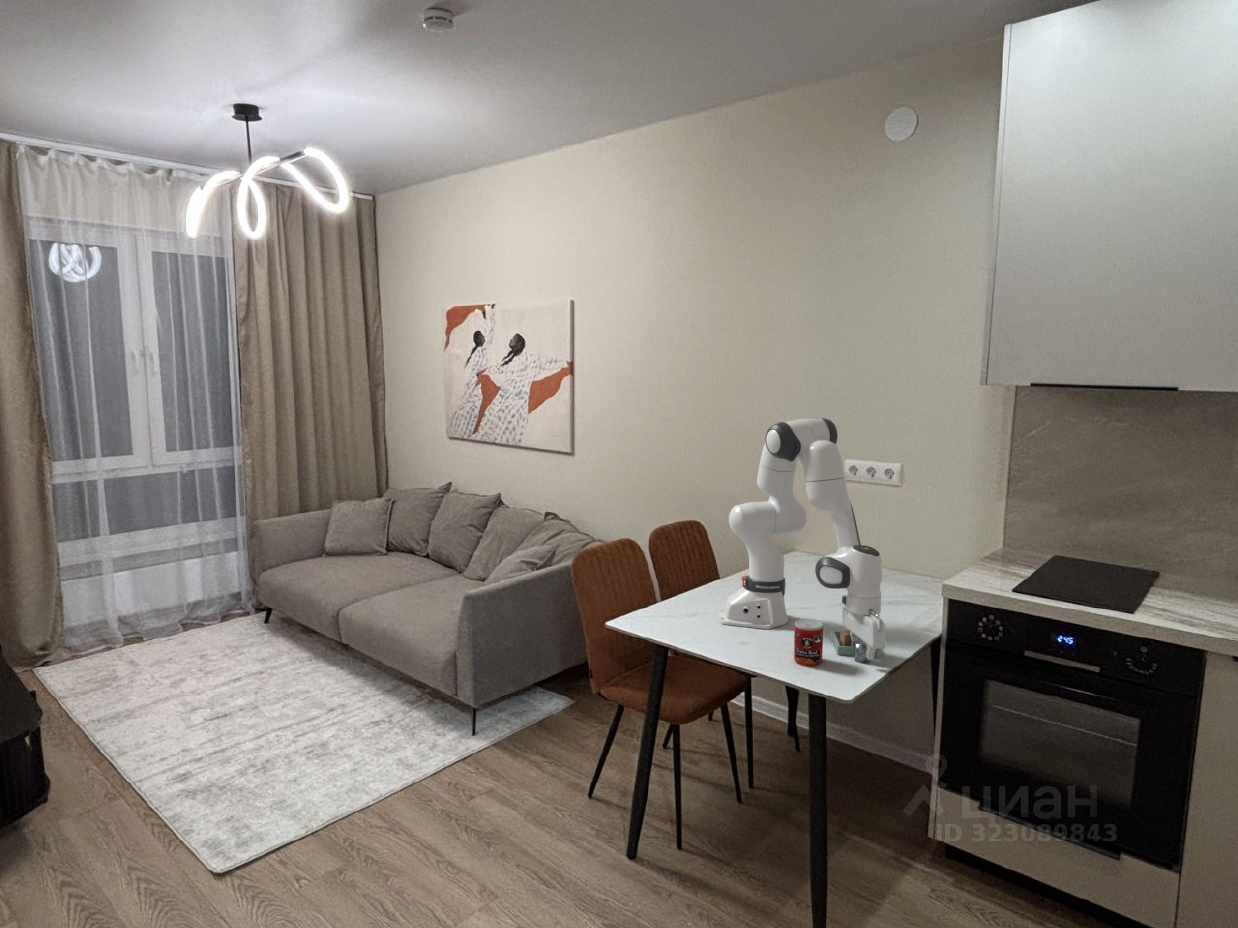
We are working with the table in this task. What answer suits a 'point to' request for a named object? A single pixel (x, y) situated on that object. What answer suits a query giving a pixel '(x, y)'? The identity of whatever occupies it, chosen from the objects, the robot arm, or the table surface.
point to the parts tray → (845, 649)
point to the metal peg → (861, 652)
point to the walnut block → (845, 638)
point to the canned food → (808, 642)
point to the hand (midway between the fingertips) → (862, 652)
